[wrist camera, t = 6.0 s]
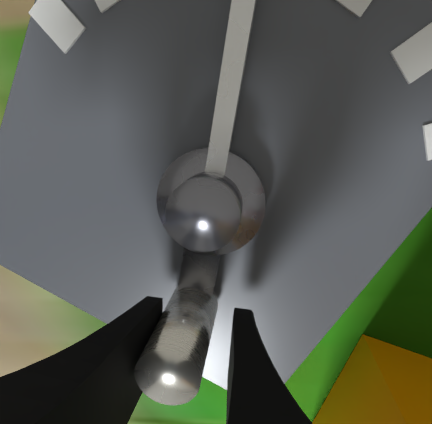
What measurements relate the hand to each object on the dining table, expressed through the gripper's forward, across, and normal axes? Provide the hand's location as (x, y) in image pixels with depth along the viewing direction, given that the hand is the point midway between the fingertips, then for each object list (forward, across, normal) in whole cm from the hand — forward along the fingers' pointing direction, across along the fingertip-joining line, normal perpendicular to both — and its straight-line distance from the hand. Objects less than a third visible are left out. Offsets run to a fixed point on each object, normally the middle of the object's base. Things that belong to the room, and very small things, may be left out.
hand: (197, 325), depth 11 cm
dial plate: (+4, 0, -6) cm, 8 cm away
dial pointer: (+2, 0, -6) cm, 6 cm away
